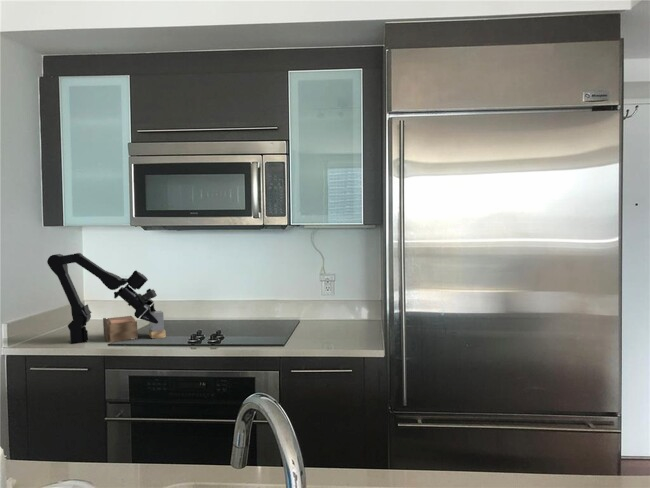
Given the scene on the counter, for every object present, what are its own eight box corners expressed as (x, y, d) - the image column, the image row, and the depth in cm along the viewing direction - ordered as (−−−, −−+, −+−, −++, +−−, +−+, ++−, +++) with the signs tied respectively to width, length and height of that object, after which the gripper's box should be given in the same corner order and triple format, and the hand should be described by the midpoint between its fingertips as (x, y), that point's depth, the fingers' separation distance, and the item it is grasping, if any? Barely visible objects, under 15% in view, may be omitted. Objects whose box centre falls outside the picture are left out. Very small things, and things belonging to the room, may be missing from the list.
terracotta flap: (110, 324, 247) (109, 321, 246) (106, 320, 255) (106, 318, 255) (135, 321, 251) (135, 318, 251) (131, 317, 260) (130, 315, 260)
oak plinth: (151, 339, 249) (151, 332, 249) (148, 336, 254) (148, 329, 254) (165, 337, 252) (165, 330, 252) (162, 334, 257) (162, 328, 257)
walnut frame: (108, 342, 245) (107, 322, 245) (103, 337, 256) (103, 318, 256) (137, 338, 251) (136, 319, 250) (132, 333, 262) (131, 315, 262)
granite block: (152, 331, 250) (151, 313, 249) (149, 329, 254) (149, 311, 254) (164, 330, 252) (163, 312, 252) (161, 328, 256) (160, 310, 256)
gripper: (141, 286, 242) (169, 310, 244) (147, 281, 261) (174, 304, 263) (122, 306, 241) (151, 330, 244) (130, 299, 260) (157, 322, 262)
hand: (159, 321), depth 253 cm, fingers open, 9 cm apart
